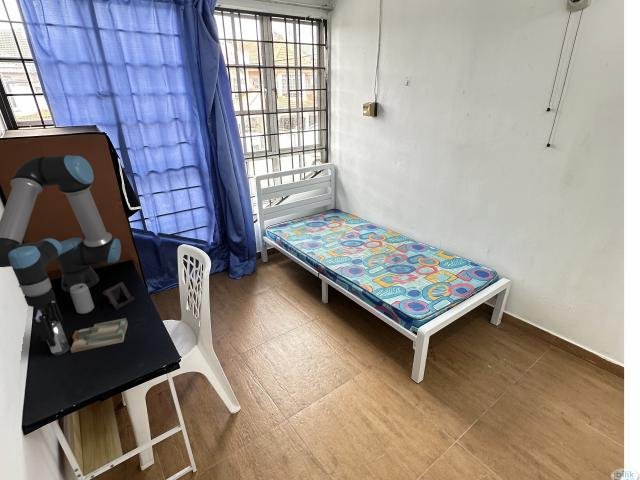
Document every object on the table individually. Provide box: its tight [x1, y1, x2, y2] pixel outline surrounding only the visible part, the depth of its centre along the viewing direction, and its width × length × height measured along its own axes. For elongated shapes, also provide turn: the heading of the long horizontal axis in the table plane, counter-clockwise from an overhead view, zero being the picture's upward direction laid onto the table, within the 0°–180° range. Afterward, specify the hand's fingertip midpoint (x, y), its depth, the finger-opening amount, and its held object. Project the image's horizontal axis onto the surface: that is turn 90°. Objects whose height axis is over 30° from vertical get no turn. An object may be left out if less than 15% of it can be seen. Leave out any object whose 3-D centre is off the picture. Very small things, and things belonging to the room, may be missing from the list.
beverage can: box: [69, 283, 95, 315], centre depth 141 cm, size 6×6×12 cm
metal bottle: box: [51, 320, 70, 356], centre depth 118 cm, size 5×5×12 cm
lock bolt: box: [72, 329, 92, 343], centre depth 124 cm, size 4×5×2 cm
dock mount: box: [69, 318, 129, 354], centre depth 126 cm, size 12×16×4 cm
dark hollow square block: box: [102, 281, 135, 311], centre depth 147 cm, size 9×8×8 cm
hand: (59, 346), depth 120 cm, fingers closed on metal bottle, 5 cm apart
